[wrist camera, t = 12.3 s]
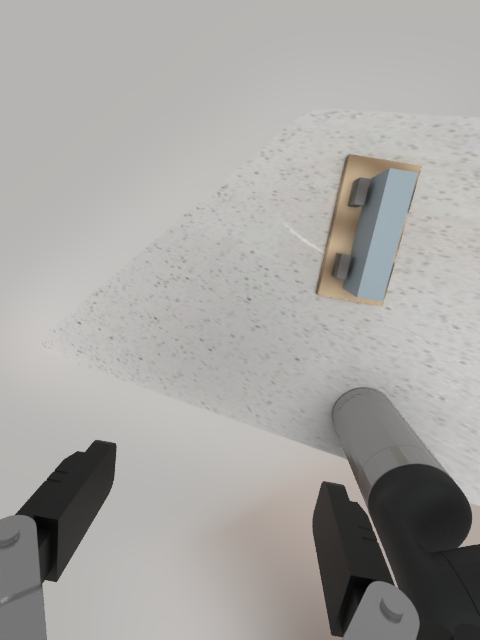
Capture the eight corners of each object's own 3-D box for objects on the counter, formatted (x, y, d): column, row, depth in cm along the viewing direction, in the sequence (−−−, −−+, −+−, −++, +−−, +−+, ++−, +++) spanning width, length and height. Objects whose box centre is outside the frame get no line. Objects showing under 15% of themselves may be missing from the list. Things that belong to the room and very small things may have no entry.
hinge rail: (378, 303, 46) (391, 310, 42) (316, 293, 47) (321, 299, 42) (415, 168, 42) (433, 160, 38) (346, 157, 42) (356, 147, 38)
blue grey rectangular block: (363, 291, 45) (382, 301, 38) (342, 288, 45) (356, 297, 38) (392, 183, 41) (418, 172, 34) (368, 179, 41) (390, 168, 34)
